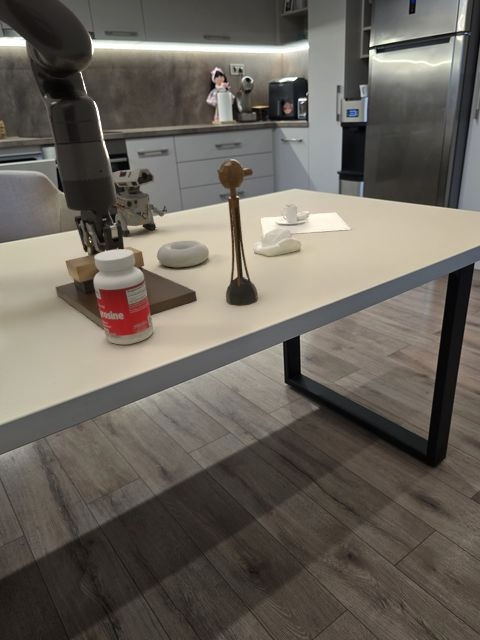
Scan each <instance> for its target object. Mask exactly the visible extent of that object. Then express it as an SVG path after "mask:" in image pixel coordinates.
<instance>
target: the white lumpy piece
mask: <svg viewBox="0 0 480 640" xmlns="http://www.w3.org/2000/svg"><path fill="white" fill-rule="evenodd" d="M301 246H302V243H301V242H300V241H299V240H298V239H296V238H295V237H294V236H293V235H292V234H291V232H290V230H289V229H288V230H284V229H280V228H277V229H274V230H272V231H269V232H267V233H266V234H265V236H263V235H262V236H261V237H260V240H258V241H257V242H255V244H254V247H253V252H254V253H255V254H258V255H262V256H266V257H275V256H279V255H280V256H281V255H285V254H291V253H294V252H296V251H297V252H298V251H300V250H301Z"/></svg>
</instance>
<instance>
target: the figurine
mask: <svg viewBox="0 0 480 640" xmlns="http://www.w3.org/2000/svg"><path fill="white" fill-rule="evenodd" d="M112 174H113V179H114V184H115V185H116V186H117V187H118V188H123V190H124V191H122V192H119V190H117V189H115V190H116V195H117V200H118V201H117V204H116V205H114V206H111V208H113V209H116V212H117V213H116V214H115V216H114V219H115V220H114V221H115V223H114V224H120V225H121V227H122V234H123V237H129V236H130V235H131V233H130V229H129V228H128V227H138V226H142V228H144V229H145V230H149V231H150V230H151V231H155V230H156V229H157V227H156V223H155V219H154V216H153V214H157V215H158V216H159V217H164V216H165V213H164V212H168V209H167V208H166V205H164V206H163V209H162V210H159V209H158V207H155V205H154V203H153V204H152V203H151V201H150V194H148V193H147V192H143V190H141V186H145V185H148V184H152V183H154V182H155V175H154V174H153V173H152V172H151V171H150V170H149V168H147V167H146V168H136V169H135V168H134V169H124V170H118V171H112ZM150 203H151V204H150ZM152 212H153V213H152Z"/></svg>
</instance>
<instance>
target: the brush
mask: <svg viewBox="0 0 480 640" xmlns="http://www.w3.org/2000/svg"><path fill="white" fill-rule="evenodd" d="M124 249H126V250H131V251H133V254H134V258H135V264H134V267H136V268H138V269H140V270H141V271H142V268H143V267H145V262H144V255H143V251H142V250H139V249H137V248H134V247H131V246H124ZM95 255H96V254H93V255H89V256H88V255H85V256H80V257H77V258H72V259H71V258H70V259H67V260H65V265H66V269H67V273H68V276H69V277H70V278H72V280H73V282H74V284H75V287H77V288H78V289H80V290H81V291H83V292H84V293H90V292H94V291H95V288H94V282H93V281H94V277H95V275H96V274H97V273H98V272H99V270H98V269H97V267H96V266H95V259H94V256H95ZM142 273H143V271H142Z"/></svg>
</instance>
